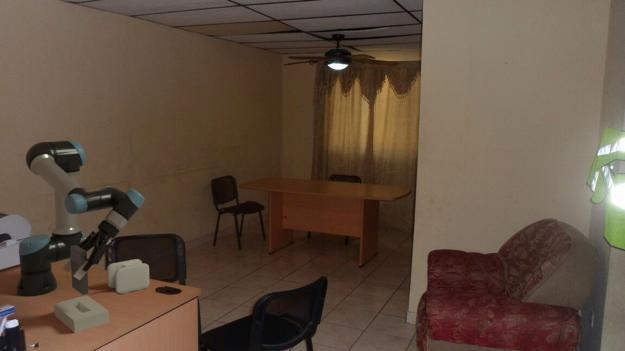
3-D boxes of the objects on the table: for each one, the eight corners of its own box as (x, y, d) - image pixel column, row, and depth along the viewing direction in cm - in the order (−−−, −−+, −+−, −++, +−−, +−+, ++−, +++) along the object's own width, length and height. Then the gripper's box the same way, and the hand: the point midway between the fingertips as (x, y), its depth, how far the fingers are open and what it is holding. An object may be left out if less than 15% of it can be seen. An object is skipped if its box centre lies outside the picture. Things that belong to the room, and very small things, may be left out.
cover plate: (72, 287, 175) (70, 246, 173) (77, 285, 177) (75, 245, 174) (82, 294, 169) (80, 252, 166) (88, 293, 170) (86, 251, 168)
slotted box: (54, 318, 177) (53, 303, 176) (87, 309, 186) (86, 295, 185) (75, 337, 163) (74, 320, 163) (109, 326, 172) (108, 310, 171)
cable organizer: (115, 296, 199) (114, 270, 197) (107, 288, 207) (106, 263, 205) (149, 288, 209) (149, 263, 207) (141, 281, 217) (140, 257, 215)
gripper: (132, 236, 173) (91, 287, 164) (106, 224, 189) (67, 271, 179) (118, 224, 169) (74, 277, 160) (92, 214, 184) (51, 261, 175)
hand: (70, 274), depth 170 cm, fingers closed on cover plate, 10 cm apart
